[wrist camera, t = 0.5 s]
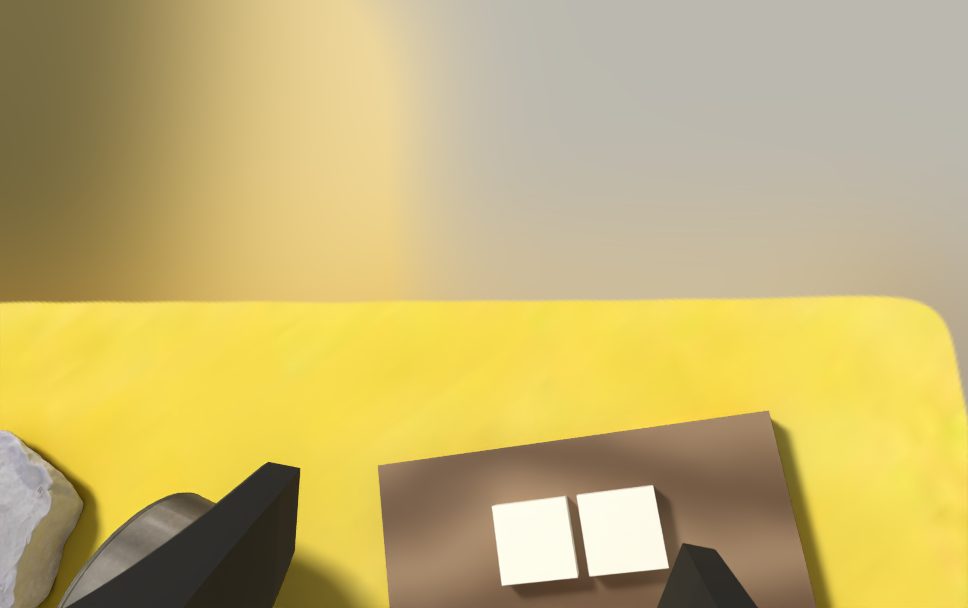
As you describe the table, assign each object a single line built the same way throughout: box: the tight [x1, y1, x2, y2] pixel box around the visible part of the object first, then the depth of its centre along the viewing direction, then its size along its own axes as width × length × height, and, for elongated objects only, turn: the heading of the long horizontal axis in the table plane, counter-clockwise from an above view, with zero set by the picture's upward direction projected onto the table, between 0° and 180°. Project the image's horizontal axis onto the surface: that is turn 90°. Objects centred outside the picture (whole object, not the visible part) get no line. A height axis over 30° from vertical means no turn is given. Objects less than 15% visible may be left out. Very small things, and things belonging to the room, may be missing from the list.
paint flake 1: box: [492, 496, 579, 586], centre depth 34 cm, size 4×4×1 cm
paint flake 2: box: [577, 485, 669, 576], centre depth 33 cm, size 4×4×1 cm
